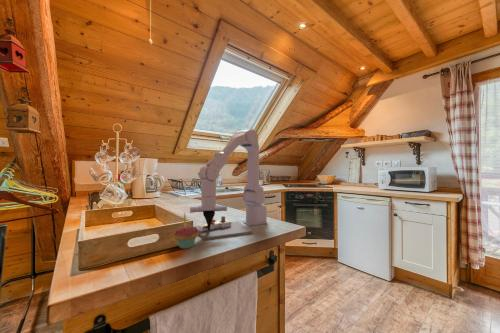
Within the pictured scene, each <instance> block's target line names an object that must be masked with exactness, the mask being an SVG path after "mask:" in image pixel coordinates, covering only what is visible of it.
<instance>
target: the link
mask: <svg viewBox="0 0 500 333" xmlns="http://www.w3.org/2000/svg"><path fill="white" fill-rule="evenodd" d="M231 222H232V221H231V220H228V219H225V222H221V219H219V220H215V222H213V223H211V226H210V230H213V229H217V228H225V227H230V226H231ZM198 226H199V230H200V231H202V232H204V231H208V225H207V223H204V224H203V223H202V224H199V225H198Z"/></svg>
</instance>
